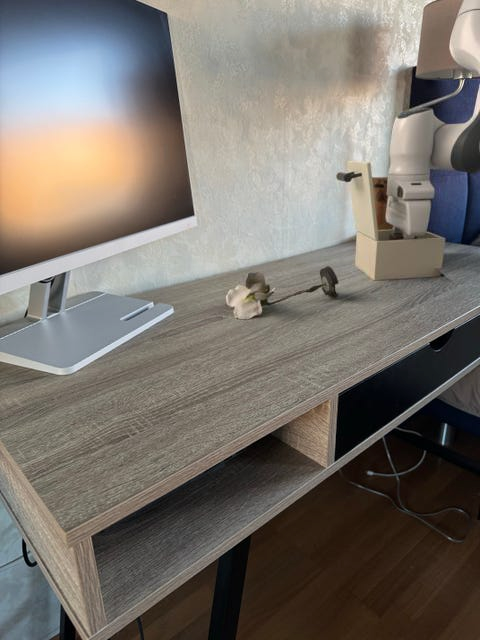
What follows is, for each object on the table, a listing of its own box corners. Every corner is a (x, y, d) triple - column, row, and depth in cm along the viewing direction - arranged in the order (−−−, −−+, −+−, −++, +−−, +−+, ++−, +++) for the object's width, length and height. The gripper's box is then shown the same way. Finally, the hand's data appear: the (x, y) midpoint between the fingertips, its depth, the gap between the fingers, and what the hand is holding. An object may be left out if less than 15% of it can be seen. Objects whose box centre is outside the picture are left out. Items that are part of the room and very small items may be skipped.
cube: (387, 253, 109) (389, 233, 107) (408, 252, 108) (410, 232, 107) (393, 258, 104) (395, 237, 102) (415, 257, 104) (417, 236, 102)
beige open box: (414, 262, 114) (417, 227, 111) (440, 276, 102) (445, 238, 98) (354, 265, 113) (356, 231, 110) (374, 280, 101) (376, 241, 98)
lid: (350, 160, 104) (330, 165, 104) (370, 162, 91) (347, 167, 91) (358, 229, 110) (339, 233, 110) (378, 239, 97) (357, 244, 97)
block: (358, 244, 137) (362, 176, 130) (382, 242, 138) (388, 175, 130) (370, 251, 127) (375, 178, 120) (396, 250, 128) (402, 177, 120)
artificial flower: (345, 309, 87) (350, 266, 81) (237, 338, 83) (232, 294, 77) (325, 286, 94) (328, 244, 88) (223, 311, 90) (218, 269, 84)
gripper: (381, 184, 110) (377, 239, 115) (406, 192, 91) (400, 258, 96) (407, 183, 110) (402, 238, 115) (438, 190, 91) (430, 257, 96)
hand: (401, 247), depth 106 cm, fingers closed on cube, 5 cm apart
